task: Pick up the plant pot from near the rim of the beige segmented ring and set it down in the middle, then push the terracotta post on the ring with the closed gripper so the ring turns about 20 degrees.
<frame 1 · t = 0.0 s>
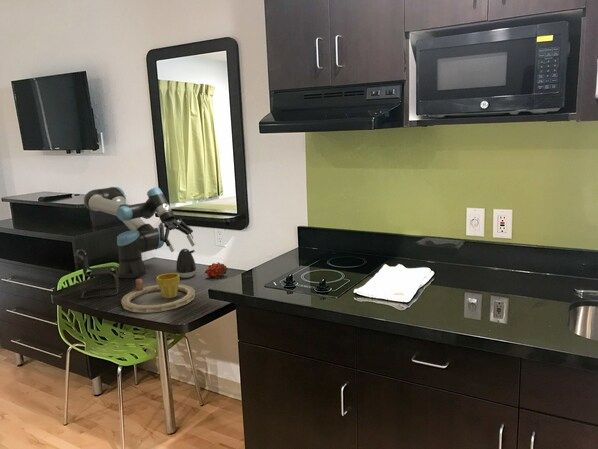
hand: (183, 248, 256), 15 cm above the table, tool tilted 35°, fingers open, 13 cm apart
dragon fruit: (216, 277, 255), on the table
beige segmented ring: (158, 292, 224), point 4 cm above the table, hinge at 0.0°
chair: (101, 293, 237), on the table
plant pot: (169, 296, 229), resting in beige segmented ring
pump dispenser: (187, 276, 259), on the table
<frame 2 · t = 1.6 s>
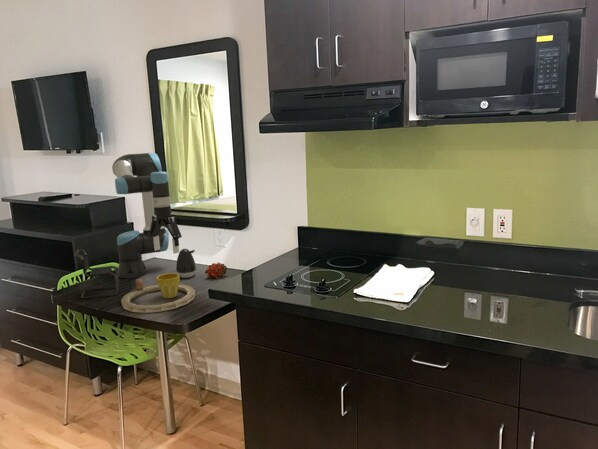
hand: (166, 251, 226), 21 cm above the table, tool pointing down, fingers open, 13 cm apart
nothing on the table moved.
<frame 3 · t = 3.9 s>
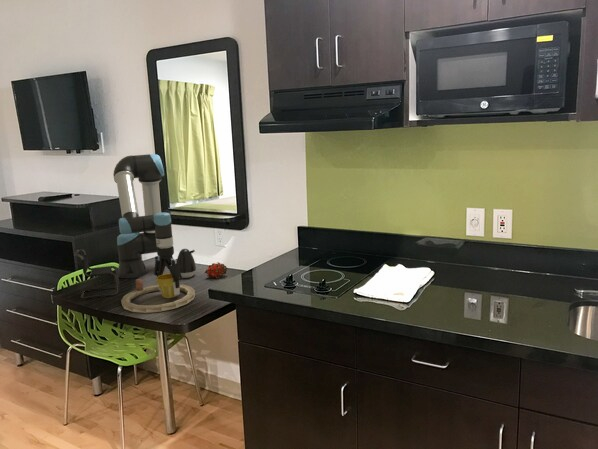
hand: (169, 292, 229), 2 cm above the table, tool pointing down, fingers closed on plant pot, 10 cm apart
plant pot: (169, 296, 229), resting in beige segmented ring, touching gripper
everything else where it was.
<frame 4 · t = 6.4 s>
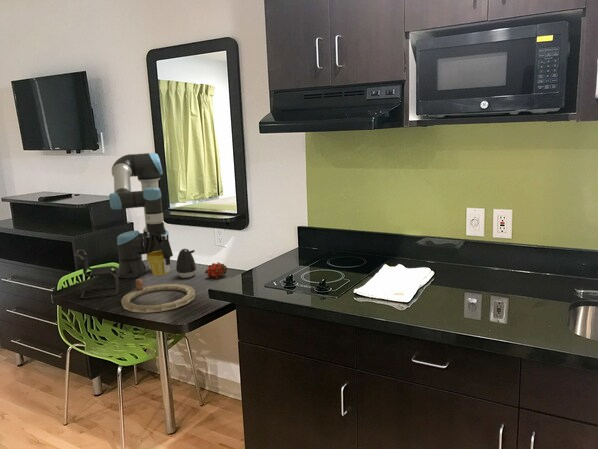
hand: (159, 269, 223), 14 cm above the table, tool pointing down, fingers closed on plant pot, 10 cm apart
plant pot: (160, 274, 224), point 12 cm above the table, touching gripper
everything else where it was.
when the fingers open (3 cm above the table, at t = 9.1 s): plant pot drops 1 cm, resting in beige segmented ring.
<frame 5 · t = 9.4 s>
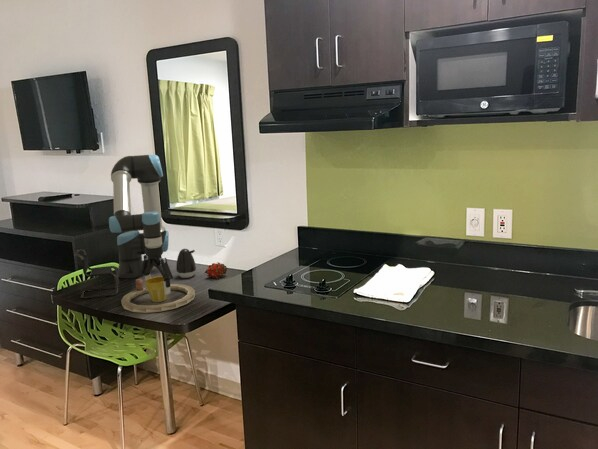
hand: (158, 291, 224), 4 cm above the table, tool pointing down, fingers open, 13 cm apart
plant pot: (159, 300, 225), resting in beige segmented ring
everything else where it was.
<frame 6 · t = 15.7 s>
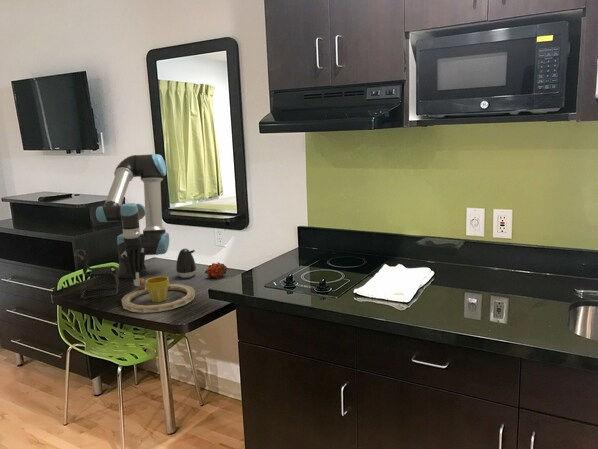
hand: (137, 285, 232), 5 cm above the table, tool pointing down, fingers closed
beige segmented ring: (158, 292, 224), point 4 cm above the table, hinge at -4.1°, touching gripper
everything else where it was.
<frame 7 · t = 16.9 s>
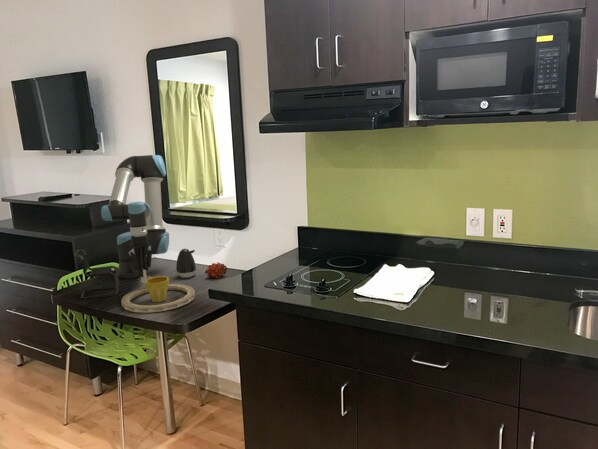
hand: (144, 282, 234), 5 cm above the table, tool pointing down, fingers closed
beige segmented ring: (158, 292, 224), point 4 cm above the table, hinge at -19.7°, touching gripper
everything else where it was.
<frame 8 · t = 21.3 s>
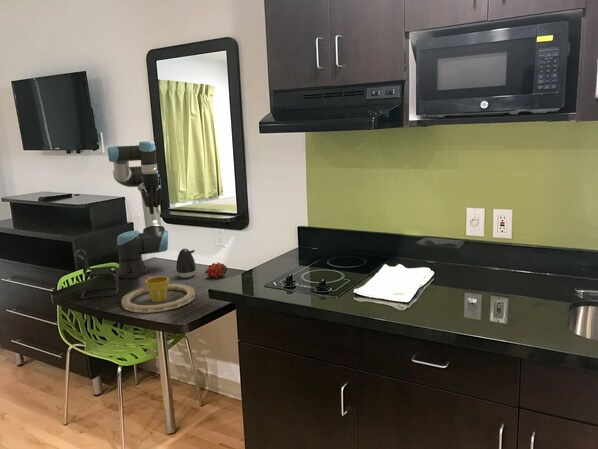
hand: (154, 220, 245), 32 cm above the table, tool pointing down, fingers closed
beige segmented ring: (158, 292, 224), point 4 cm above the table, hinge at -19.9°
everything else where it was.
at the end: plant pot 0.2 cm from the beige segmented ring (horizontally); beige segmented ring at -20° (first picture: +0°); plant pot tilted 0° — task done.
